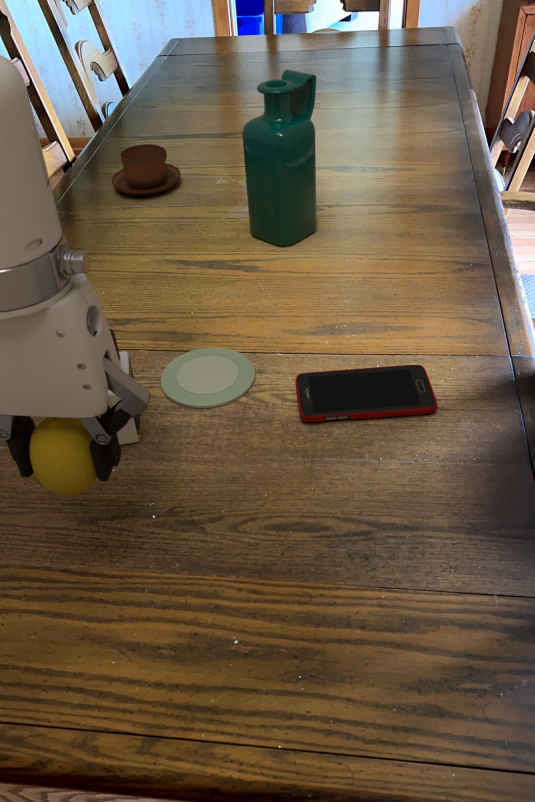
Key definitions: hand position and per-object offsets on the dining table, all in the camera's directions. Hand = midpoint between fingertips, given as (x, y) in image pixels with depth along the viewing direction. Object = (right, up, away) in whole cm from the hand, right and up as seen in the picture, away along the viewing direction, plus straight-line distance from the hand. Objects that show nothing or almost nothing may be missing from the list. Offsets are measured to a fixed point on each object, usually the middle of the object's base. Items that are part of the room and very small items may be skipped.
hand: (70, 465), depth 57 cm
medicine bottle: (-2, +2, +21) cm, 21 cm away
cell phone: (+26, +5, +22) cm, 35 cm away
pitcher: (+19, +31, +54) cm, 65 cm away
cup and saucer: (-5, +43, +69) cm, 82 cm away
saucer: (+9, +8, +26) cm, 29 cm away
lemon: (0, -2, +2) cm, 3 cm away
